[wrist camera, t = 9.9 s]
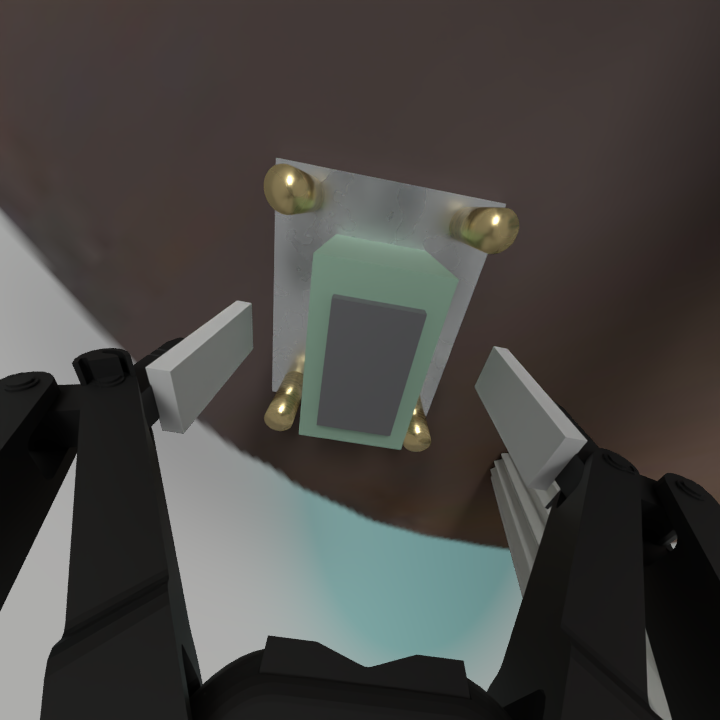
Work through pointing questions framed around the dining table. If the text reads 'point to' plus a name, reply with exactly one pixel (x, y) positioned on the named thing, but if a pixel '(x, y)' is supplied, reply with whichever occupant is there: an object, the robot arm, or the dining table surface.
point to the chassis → (380, 224)
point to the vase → (524, 535)
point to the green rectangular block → (370, 339)
